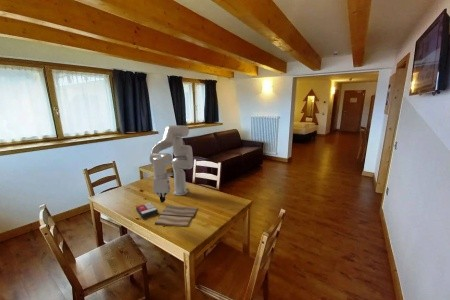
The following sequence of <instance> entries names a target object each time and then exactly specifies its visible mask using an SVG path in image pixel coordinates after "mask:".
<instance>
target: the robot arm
mask: <svg viewBox="0 0 450 300" xmlns="http://www.w3.org/2000/svg"><path fill="white" fill-rule="evenodd" d="M189 130H190V129H189V126H188V125H167V126H166V127H165V129H164V131H163V135H162V139H161V140H160V141H158V143H156V144H155V145H154V146H153V147H152V149H151V152H150V154H149V162H150V164H151V165H152V166H153V167H152V168H153V180H152V190H153V194H155V195H157V196H158V198H159V201H160V203H163V204H164V203H165V201H166V195H170V194H171V191H170V190H171V183H170V180H169V173H167V166H168V165H170V164H171V165H172V169H173V171H172V172H173V183H174V186H173V187H174V190H173V191H172V194H173V195H175V196H184V195H187V194H188V189H187V185H186V172H185V171H184V170H190V169H192V168H193V167H194V156H193V148H192V146H191V145H187V144H186V145H185V144H184V140H183V138H186V137H188V136H189V132H190V131H189ZM169 148H172V154H173V155H172V154H171V153H169V152H162V151H163V150H167V149H169ZM173 156H174V158H173Z"/></svg>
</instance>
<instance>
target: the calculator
mask: <svg viewBox="0 0 450 300" xmlns="http://www.w3.org/2000/svg"><path fill="white" fill-rule="evenodd" d="M135 210H136V212H137V214H138V215H139V216H140V217H141V219H142V220H143V219H144V220H145V219H147V218H150V217H154V216H156V215H158V214H159V212H158V211H159V210H158V208H157V207H156V206H155V205H154V204H152V202H147V203H144V204H141V205H137V206H136V207H135Z"/></svg>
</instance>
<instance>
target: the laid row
mask: <svg viewBox="0 0 450 300" xmlns="http://www.w3.org/2000/svg"><path fill="white" fill-rule="evenodd" d="M197 211H198V207H193V206H177V205H165V207H164V208H163V209H162V211H161V212H160V213H159V216H160V215H164V216H179V217H191V219H194V216H195V215H196V213H197Z"/></svg>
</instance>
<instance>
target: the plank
mask: <svg viewBox="0 0 450 300" xmlns="http://www.w3.org/2000/svg"><path fill="white" fill-rule="evenodd" d="M191 220H192V218H191V217H179V216H164V215H160V214H159V217H158V218H157V219H156V220H155V221H154V225H159V226H161V225H162V226H176V227H188V226H189V224H190V221H191Z"/></svg>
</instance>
